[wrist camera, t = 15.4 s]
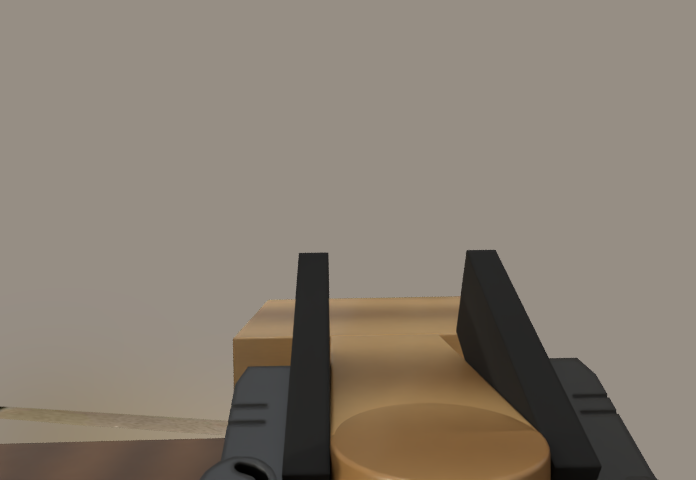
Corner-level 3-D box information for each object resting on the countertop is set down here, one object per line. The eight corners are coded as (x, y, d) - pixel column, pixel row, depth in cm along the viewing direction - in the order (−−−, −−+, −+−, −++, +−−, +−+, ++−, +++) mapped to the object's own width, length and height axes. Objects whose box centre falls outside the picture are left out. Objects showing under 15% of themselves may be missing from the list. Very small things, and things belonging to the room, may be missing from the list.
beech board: (268, 338, 28) (267, 299, 28) (463, 335, 28) (463, 296, 28) (91, 642, 7) (88, 494, 7) (821, 616, 8) (820, 473, 8)
